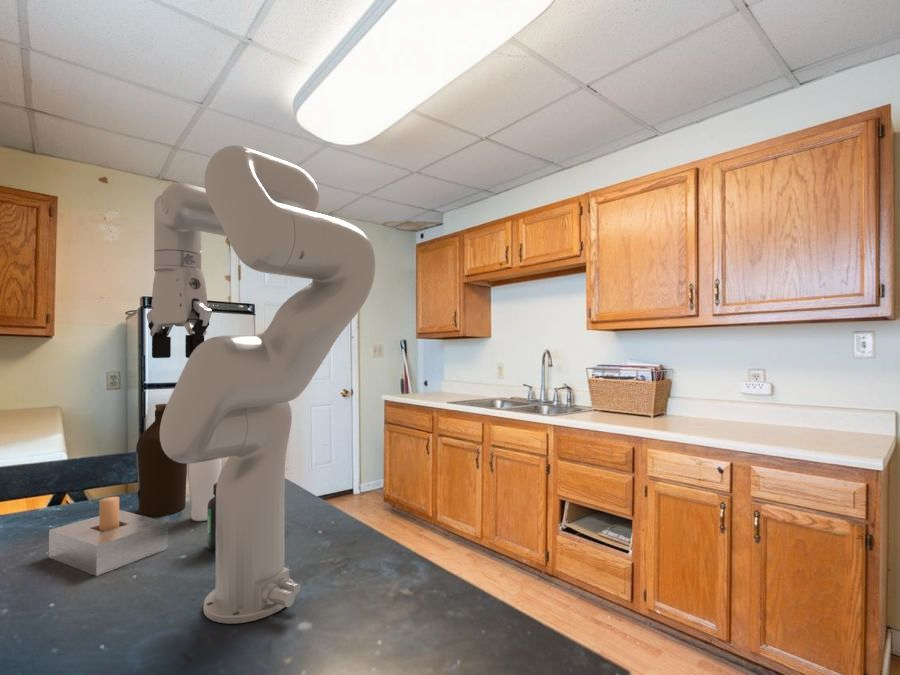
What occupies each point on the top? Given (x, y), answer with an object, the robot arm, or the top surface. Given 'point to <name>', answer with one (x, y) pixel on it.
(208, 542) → the supplement bottle
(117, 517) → the peg
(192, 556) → the top surface
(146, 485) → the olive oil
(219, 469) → the drinking glass
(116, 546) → the hole block
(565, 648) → the top surface
